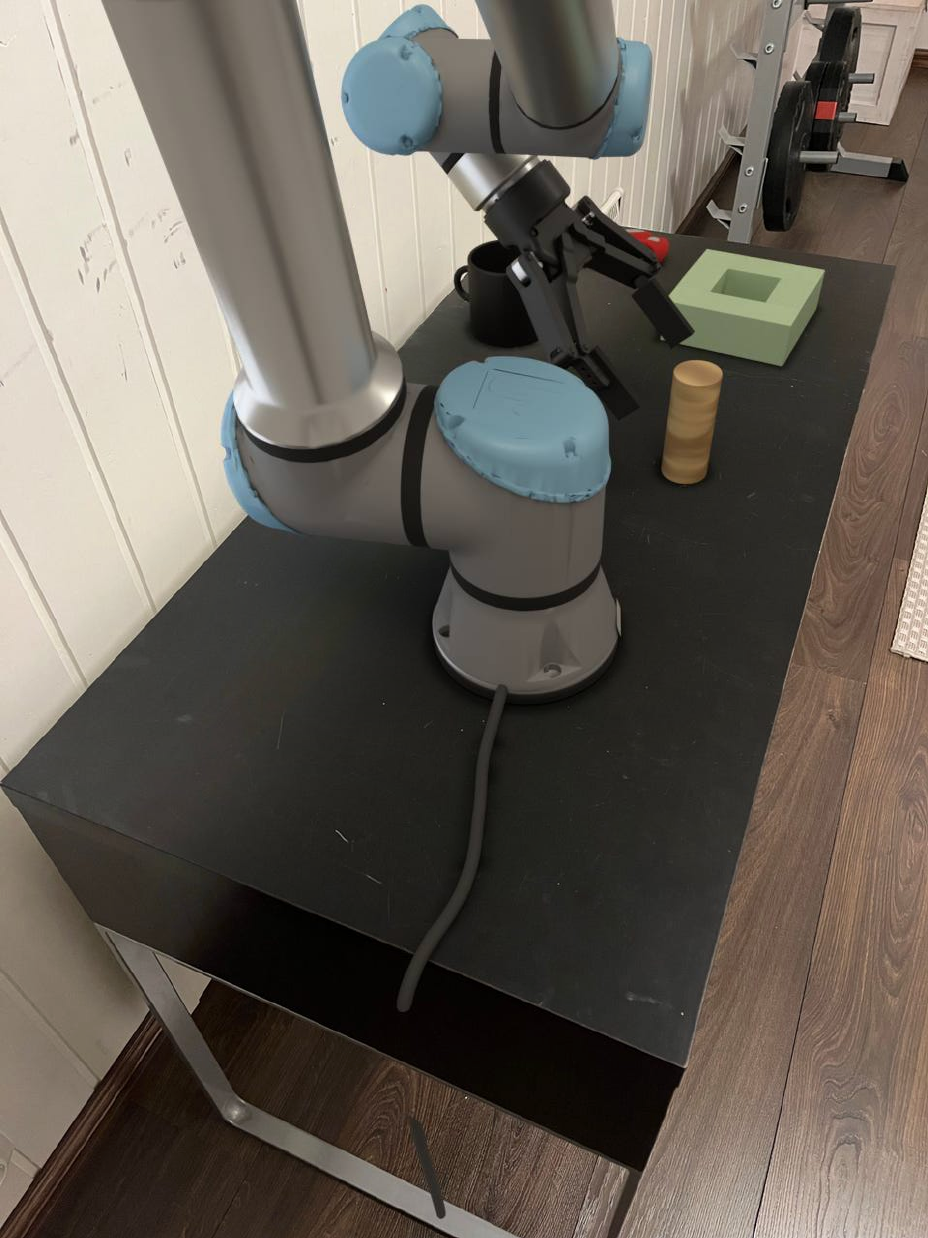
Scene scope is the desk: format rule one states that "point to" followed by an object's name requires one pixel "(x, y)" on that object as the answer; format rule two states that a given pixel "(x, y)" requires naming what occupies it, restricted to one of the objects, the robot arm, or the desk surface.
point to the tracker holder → (652, 242)
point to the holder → (747, 305)
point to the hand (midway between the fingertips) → (658, 374)
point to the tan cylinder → (691, 421)
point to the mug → (494, 297)
